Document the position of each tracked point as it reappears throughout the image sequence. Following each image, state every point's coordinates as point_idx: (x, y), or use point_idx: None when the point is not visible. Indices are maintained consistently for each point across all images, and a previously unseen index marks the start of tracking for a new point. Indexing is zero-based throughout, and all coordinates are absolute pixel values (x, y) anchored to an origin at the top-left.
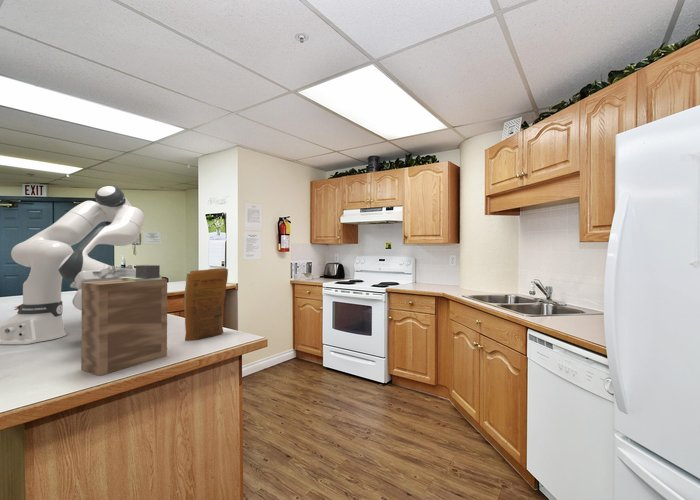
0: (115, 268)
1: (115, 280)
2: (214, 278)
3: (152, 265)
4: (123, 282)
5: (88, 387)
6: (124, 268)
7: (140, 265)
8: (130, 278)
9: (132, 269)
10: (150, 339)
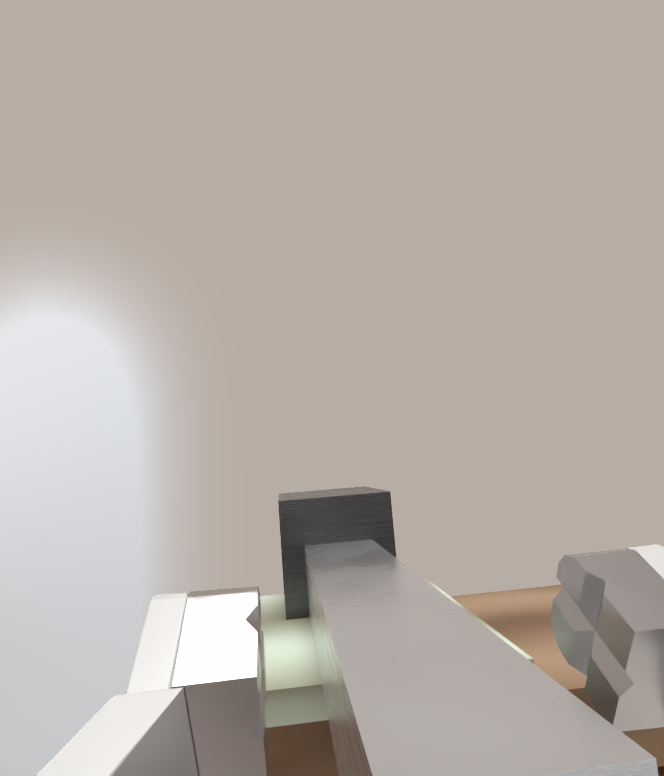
0: (549, 745)
1: (568, 665)
2: None
3: (310, 492)
4: (514, 592)
5: None
6: (346, 668)
7: (367, 491)
8: (450, 597)
9: (365, 566)
10: None
